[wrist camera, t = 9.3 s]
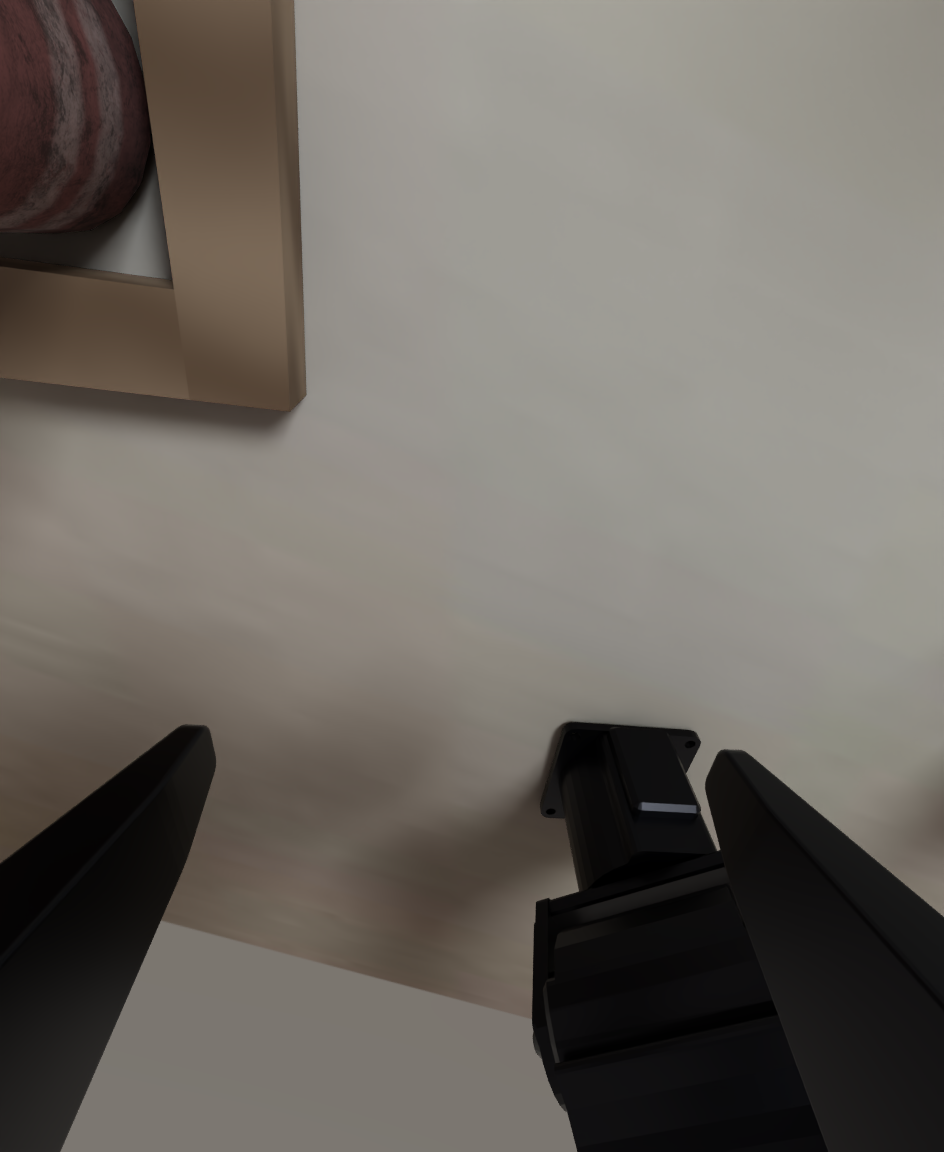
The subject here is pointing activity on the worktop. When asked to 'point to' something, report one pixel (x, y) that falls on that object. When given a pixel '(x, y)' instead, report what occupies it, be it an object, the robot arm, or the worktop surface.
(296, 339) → the socket block
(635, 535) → the worktop surface
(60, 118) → the can
